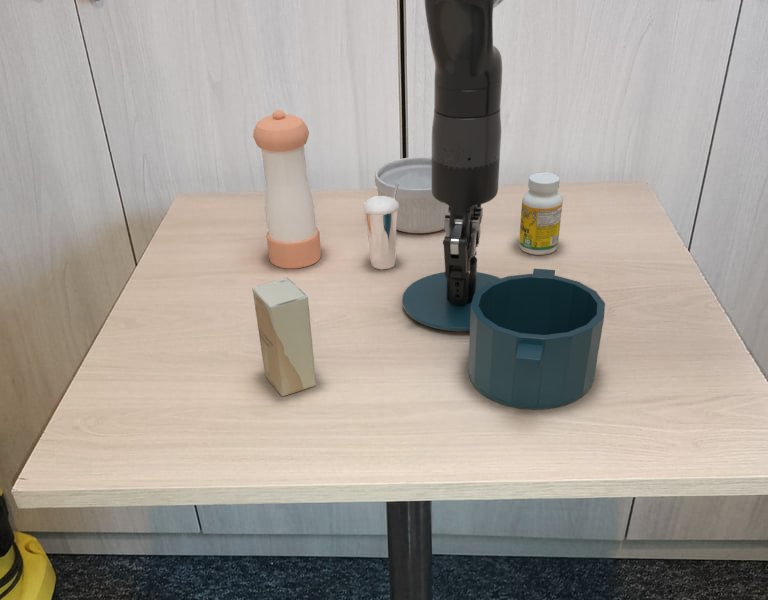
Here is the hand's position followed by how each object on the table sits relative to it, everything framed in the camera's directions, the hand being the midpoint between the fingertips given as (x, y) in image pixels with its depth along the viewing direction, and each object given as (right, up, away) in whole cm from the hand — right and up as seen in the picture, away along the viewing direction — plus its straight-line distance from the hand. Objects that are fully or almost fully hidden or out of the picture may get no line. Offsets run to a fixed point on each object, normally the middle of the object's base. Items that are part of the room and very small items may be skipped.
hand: (461, 294), depth 101 cm
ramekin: (-4, +17, +21) cm, 27 cm away
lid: (0, -1, +1) cm, 1 cm away
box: (-20, -13, -10) cm, 26 cm away
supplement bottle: (+12, +10, +12) cm, 20 cm away
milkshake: (-9, +7, +10) cm, 16 cm away
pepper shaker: (-22, +9, +13) cm, 27 cm away
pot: (+7, -12, -11) cm, 17 cm away
